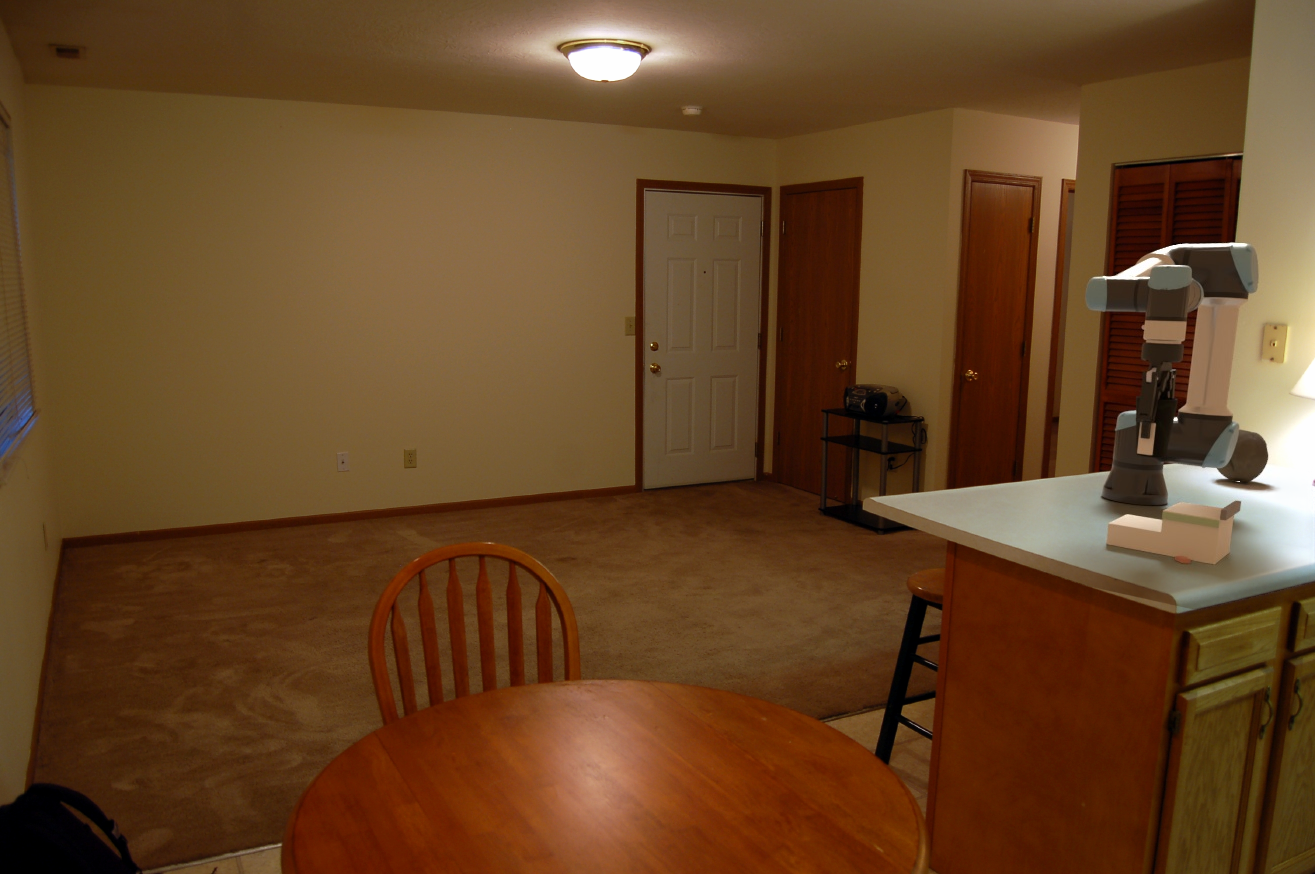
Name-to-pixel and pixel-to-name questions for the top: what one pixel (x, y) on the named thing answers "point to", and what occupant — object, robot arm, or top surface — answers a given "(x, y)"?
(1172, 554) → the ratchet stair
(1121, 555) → the top surface
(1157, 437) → the cup
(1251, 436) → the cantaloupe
